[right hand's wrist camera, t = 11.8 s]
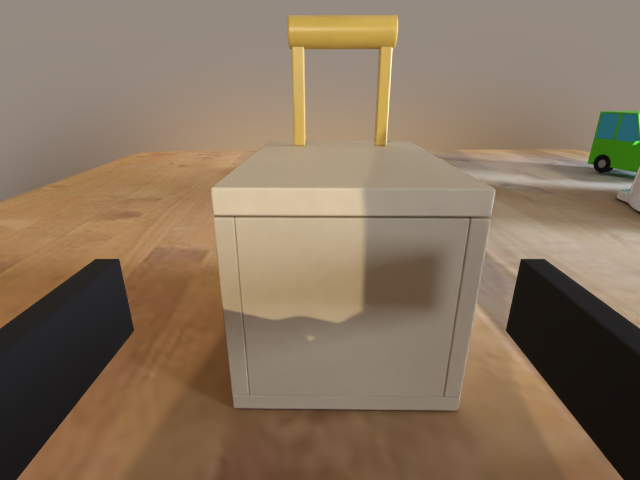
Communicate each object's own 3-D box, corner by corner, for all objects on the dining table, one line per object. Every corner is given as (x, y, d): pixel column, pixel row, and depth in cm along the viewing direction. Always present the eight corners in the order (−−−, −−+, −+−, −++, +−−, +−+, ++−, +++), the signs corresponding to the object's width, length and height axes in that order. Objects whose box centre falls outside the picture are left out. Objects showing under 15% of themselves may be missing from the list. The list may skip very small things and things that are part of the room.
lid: (269, 155, 27) (262, 23, 24) (408, 156, 26) (419, 23, 24) (212, 216, 13) (181, -71, 10) (492, 217, 13) (542, -73, 10)
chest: (273, 272, 29) (267, 158, 26) (400, 273, 29) (410, 158, 26) (233, 409, 16) (212, 217, 13) (458, 411, 16) (491, 218, 13)
